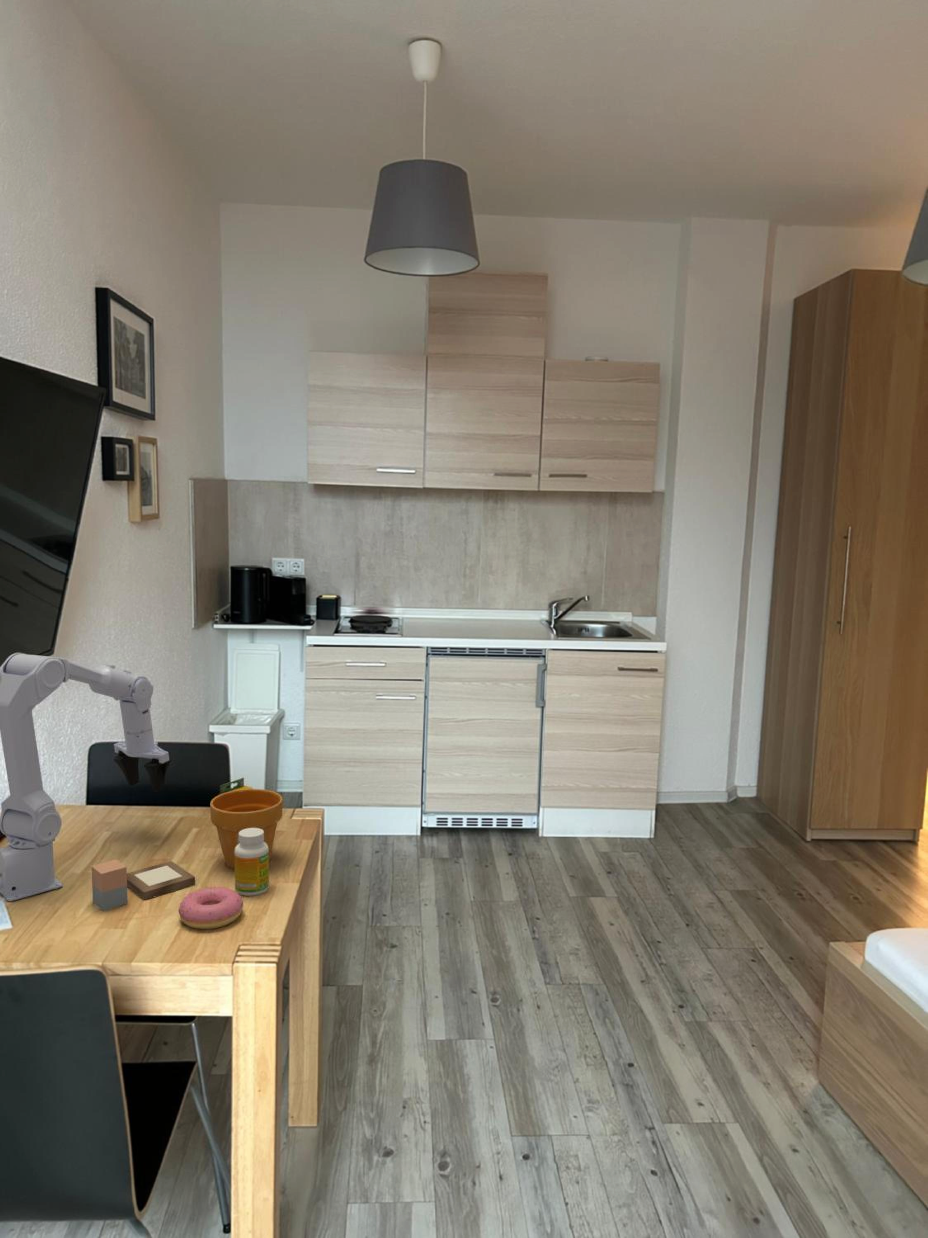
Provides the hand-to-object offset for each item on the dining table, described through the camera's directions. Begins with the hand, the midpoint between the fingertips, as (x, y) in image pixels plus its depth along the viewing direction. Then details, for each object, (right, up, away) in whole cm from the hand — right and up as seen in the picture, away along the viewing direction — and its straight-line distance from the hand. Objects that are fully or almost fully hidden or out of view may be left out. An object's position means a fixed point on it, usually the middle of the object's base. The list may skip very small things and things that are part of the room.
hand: (146, 787), depth 188 cm
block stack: (+5, -15, -31) cm, 35 cm away
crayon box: (+19, -11, +3) cm, 22 cm away
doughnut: (+25, -16, -36) cm, 46 cm away
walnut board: (+11, -14, -23) cm, 29 cm away
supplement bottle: (+29, -15, -24) cm, 41 cm away
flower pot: (+25, -13, -12) cm, 31 cm away
